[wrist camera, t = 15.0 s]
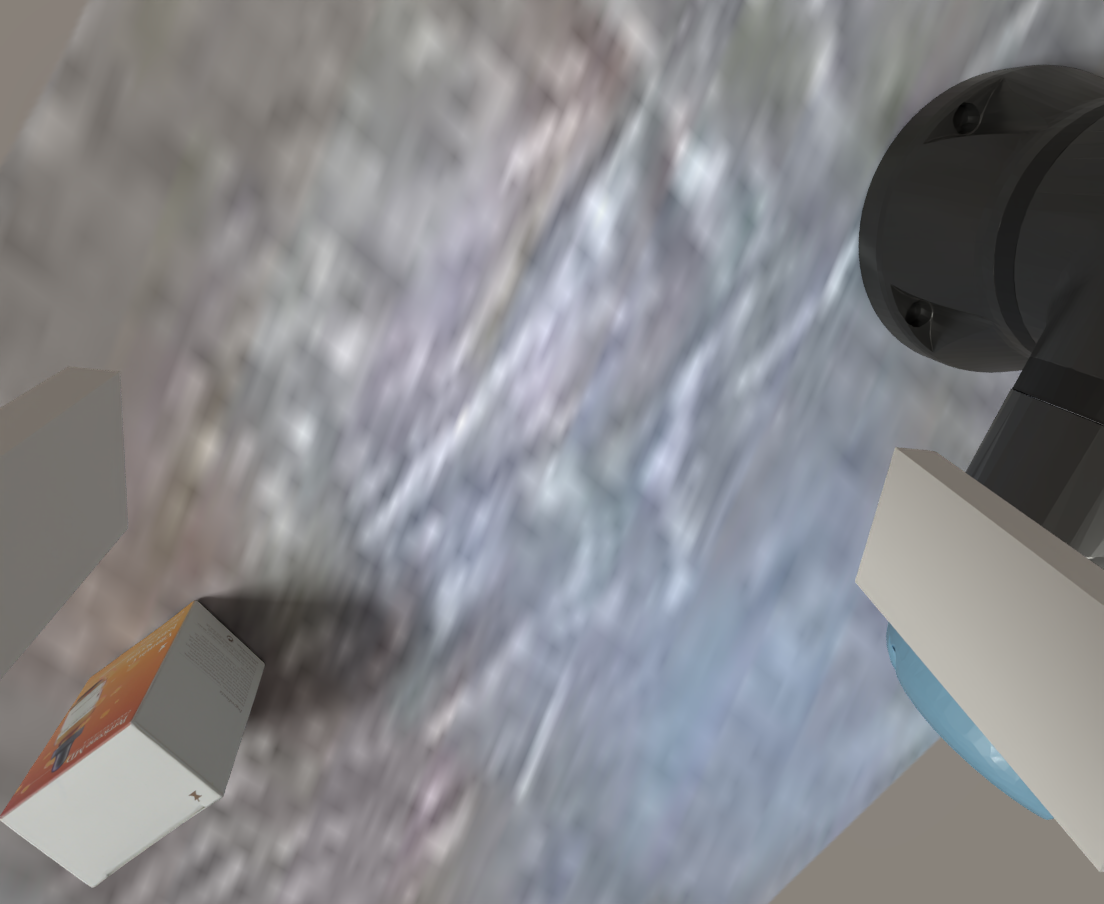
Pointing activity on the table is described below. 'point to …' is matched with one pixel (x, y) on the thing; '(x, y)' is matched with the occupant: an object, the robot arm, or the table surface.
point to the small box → (140, 747)
